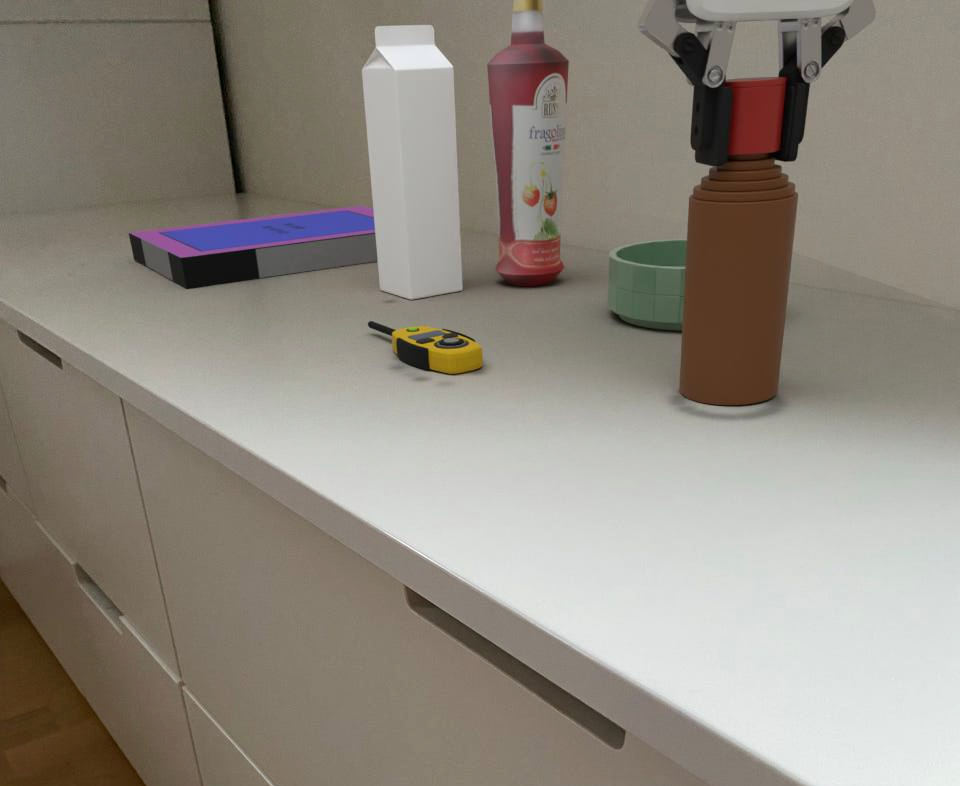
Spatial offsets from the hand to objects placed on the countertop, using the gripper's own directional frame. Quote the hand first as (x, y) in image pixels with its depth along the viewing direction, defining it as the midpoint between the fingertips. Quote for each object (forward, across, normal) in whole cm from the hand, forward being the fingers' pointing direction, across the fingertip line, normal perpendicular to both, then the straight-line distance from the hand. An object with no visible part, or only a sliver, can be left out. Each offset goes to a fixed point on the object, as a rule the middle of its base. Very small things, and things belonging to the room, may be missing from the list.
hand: (744, 158), depth 58 cm
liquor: (+14, +3, -39) cm, 42 cm away
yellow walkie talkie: (+14, +18, -17) cm, 29 cm away
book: (+14, +26, -64) cm, 71 cm away
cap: (0, 0, 0) cm, 0 cm away
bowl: (+14, -6, -21) cm, 26 cm away
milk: (+14, +14, -39) cm, 44 cm away
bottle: (+14, 0, 0) cm, 14 cm away
